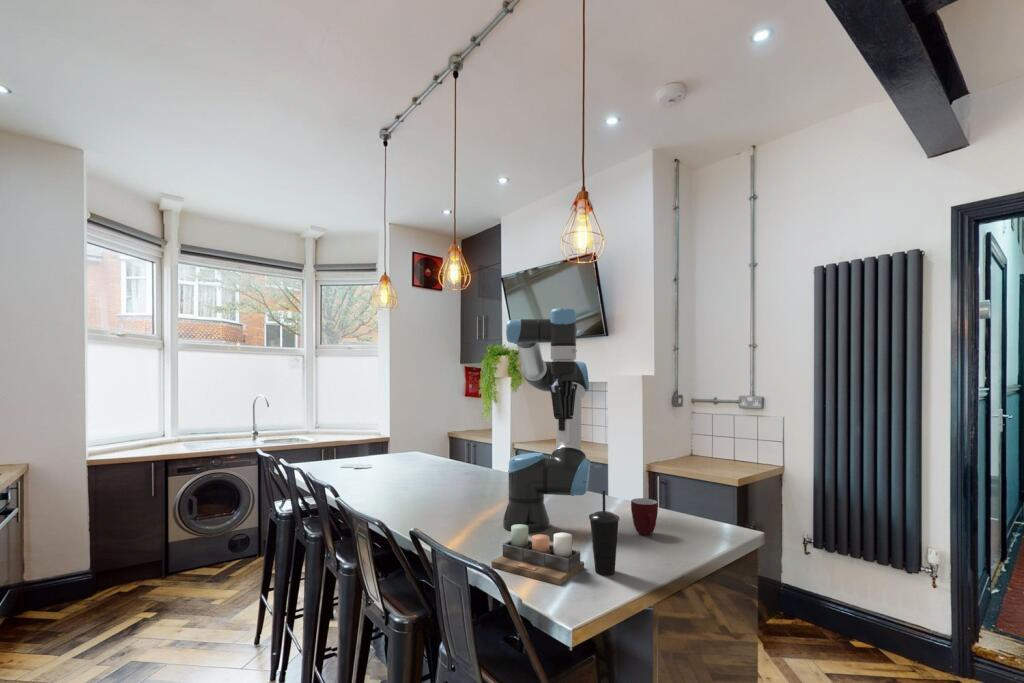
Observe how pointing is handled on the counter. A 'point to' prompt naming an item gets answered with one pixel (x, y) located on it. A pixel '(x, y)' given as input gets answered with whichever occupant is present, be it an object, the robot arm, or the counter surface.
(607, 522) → the drinking cup
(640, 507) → the mug
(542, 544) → the button terracotta
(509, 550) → the wooden compartment tray
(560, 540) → the button ivory
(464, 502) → the counter surface
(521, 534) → the pale green rounded cylinder
